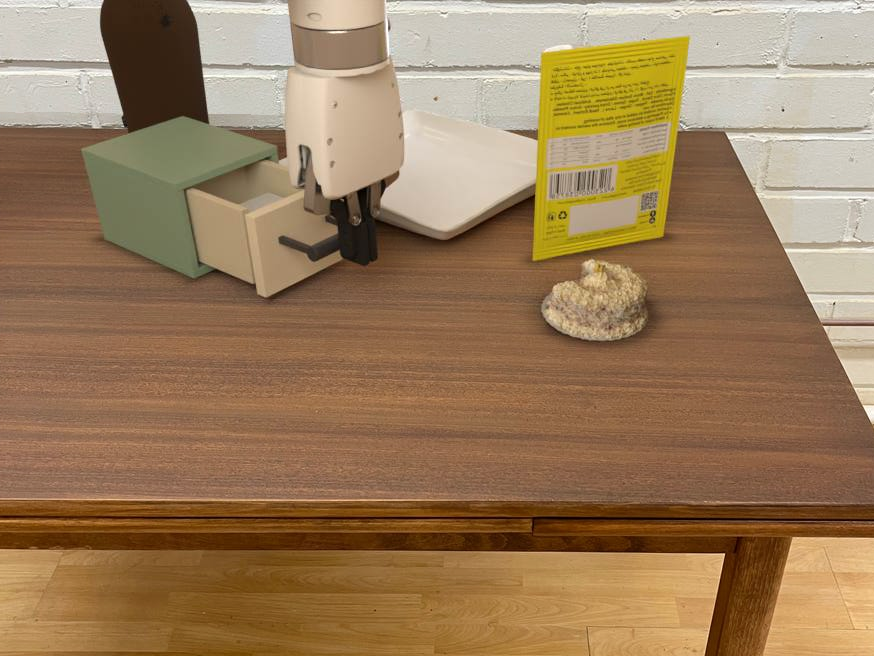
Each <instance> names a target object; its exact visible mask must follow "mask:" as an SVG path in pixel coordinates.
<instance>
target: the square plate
mask: <svg viewBox="0 0 874 656" xmlns="http://www.w3.org/2000/svg"><path fill="white" fill-rule="evenodd" d="M402 116H403V127H404V162H403V165H402V167H401V168H400V169H399V177H398V179H397V180H396V181H394V182H393V183H392V184H391V185H390V186H388V187H387V188H386V189H385V191H384V193H383V196H382V198H381V201H380V213H379V215H378V216H377V217H374V219H375V220H376V221H381V222H383V223H386V224H388V225H392V226H394V227H397V228H400V229H403V230H406V231H408V232H411V233H414V234H419V235H422V236H427V237H429V238H432V239H436V240H441V241H447V240H450V239H452V238H454V237H456V236H458V235H461V234H463V233H465V232H466V231H468V230H471V229H472V228H474V227H476V226H477V225H479V224H481V223H483V222H485V221H487V220H489V219H490V218H492V217H494V216H496V215H498V214H499V213H501V212H503V211H505V210H507V209H508V208H511V207H512V206H515V205H516V204H518V203H520V202H522V201H524V200H527V199H528V198H531V197H533V196H534V195H535V192H536V169H537V145H538V139H534V138H531V137H527V136H524V135H520V134H517V133H514V132H511V131H507V130H503V129H499V128H495V127H492V126H490V125H485V124H482V123H481V124H480V123H478V122H474V121H469V120H465V119H460V118H457V117H452V116H447V115H444V114H438V113H433V112H430V111H426V110H422V109H417V108H415V109H409V110H406V111H402ZM279 164H281V165H284V166H287V167H288V161H287V156H286V157H284V158H282V159H279Z"/></svg>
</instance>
